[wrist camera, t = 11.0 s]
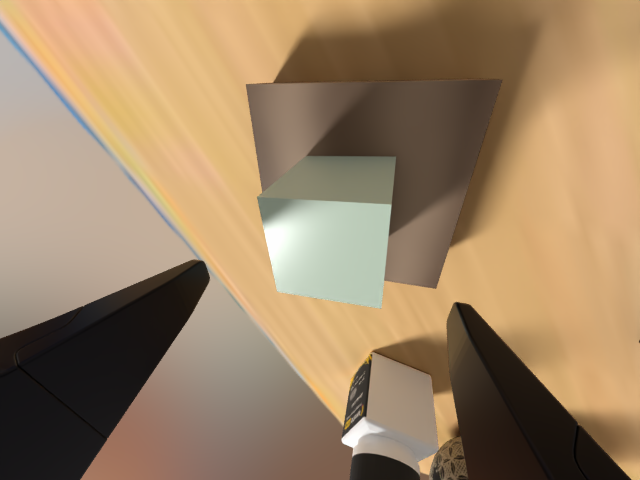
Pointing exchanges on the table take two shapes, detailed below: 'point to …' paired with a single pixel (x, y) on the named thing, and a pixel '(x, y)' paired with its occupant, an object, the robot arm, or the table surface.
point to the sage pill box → (330, 227)
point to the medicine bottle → (389, 420)
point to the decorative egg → (449, 462)
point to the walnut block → (385, 150)
